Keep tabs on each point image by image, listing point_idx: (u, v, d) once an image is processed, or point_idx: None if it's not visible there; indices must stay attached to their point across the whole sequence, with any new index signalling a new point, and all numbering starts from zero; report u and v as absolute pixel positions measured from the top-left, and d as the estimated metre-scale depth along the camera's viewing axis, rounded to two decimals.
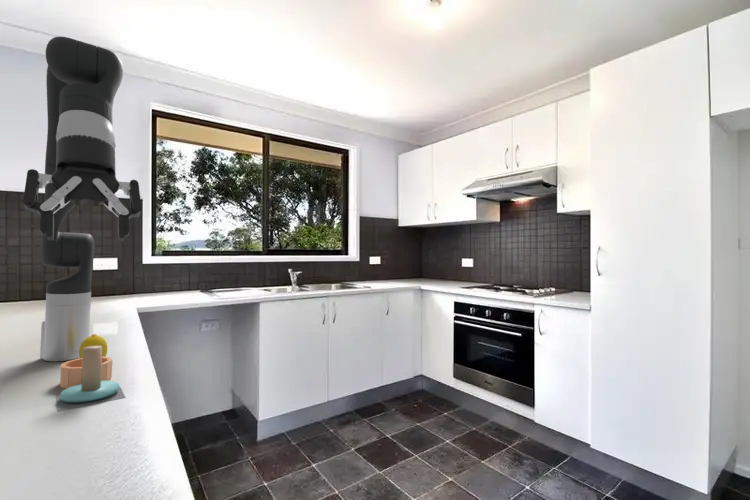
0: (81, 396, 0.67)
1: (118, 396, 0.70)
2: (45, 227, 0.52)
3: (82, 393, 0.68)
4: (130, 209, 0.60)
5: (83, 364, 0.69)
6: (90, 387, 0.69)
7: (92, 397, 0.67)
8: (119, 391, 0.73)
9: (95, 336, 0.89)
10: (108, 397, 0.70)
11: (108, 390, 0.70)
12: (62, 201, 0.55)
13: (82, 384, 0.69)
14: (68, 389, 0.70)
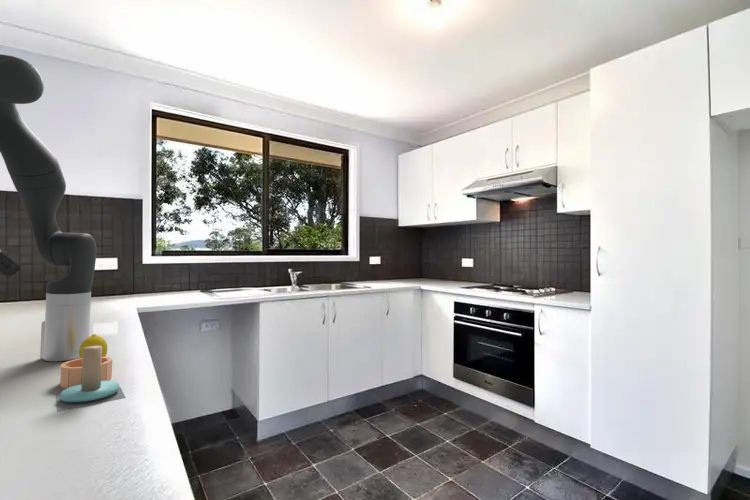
0: (81, 396, 0.67)
1: (118, 396, 0.70)
2: None
3: (82, 393, 0.68)
4: None
5: (83, 364, 0.69)
6: (90, 387, 0.69)
7: (92, 397, 0.67)
8: (119, 391, 0.73)
9: (95, 336, 0.89)
10: (108, 397, 0.70)
11: (108, 390, 0.70)
12: None
13: (82, 384, 0.69)
14: (68, 389, 0.70)
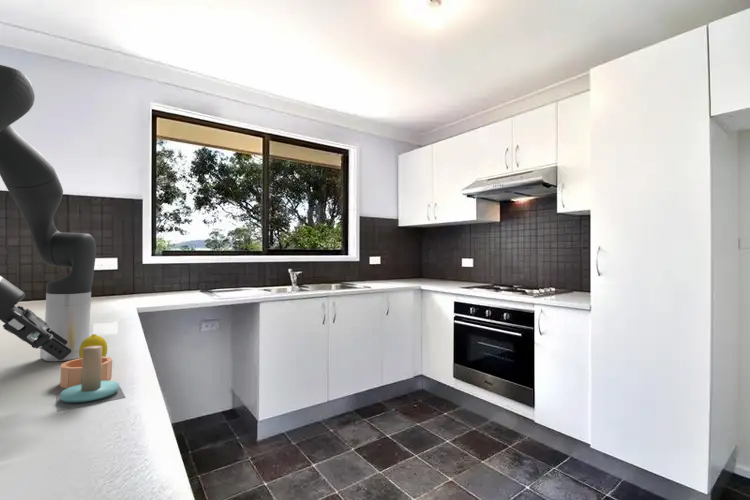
0: (81, 396, 0.67)
1: (118, 396, 0.70)
2: None
3: (82, 393, 0.68)
4: None
5: (83, 364, 0.69)
6: (90, 387, 0.69)
7: (92, 397, 0.67)
8: (119, 391, 0.73)
9: (95, 336, 0.89)
10: (108, 397, 0.70)
11: (108, 390, 0.70)
12: None
13: (82, 384, 0.69)
14: (68, 389, 0.70)
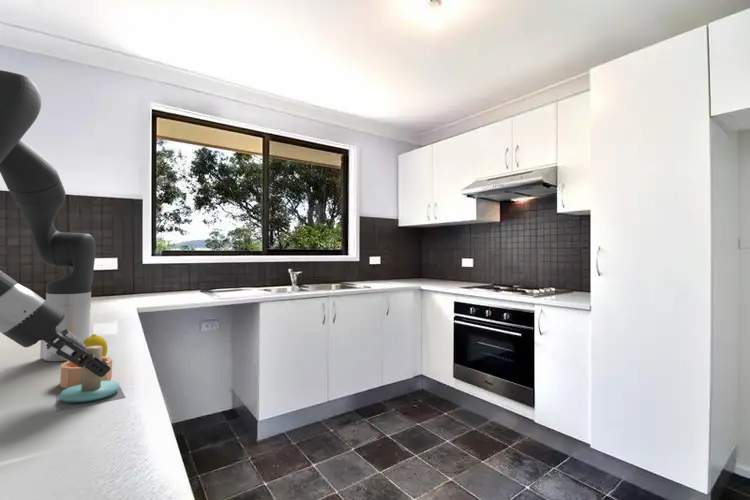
0: (81, 396, 0.67)
1: (118, 396, 0.70)
2: None
3: (82, 393, 0.68)
4: (79, 361, 0.67)
5: None
6: (90, 387, 0.69)
7: (92, 397, 0.67)
8: (119, 391, 0.73)
9: (95, 336, 0.89)
10: (108, 397, 0.70)
11: (108, 390, 0.70)
12: None
13: (82, 384, 0.69)
14: (68, 389, 0.70)
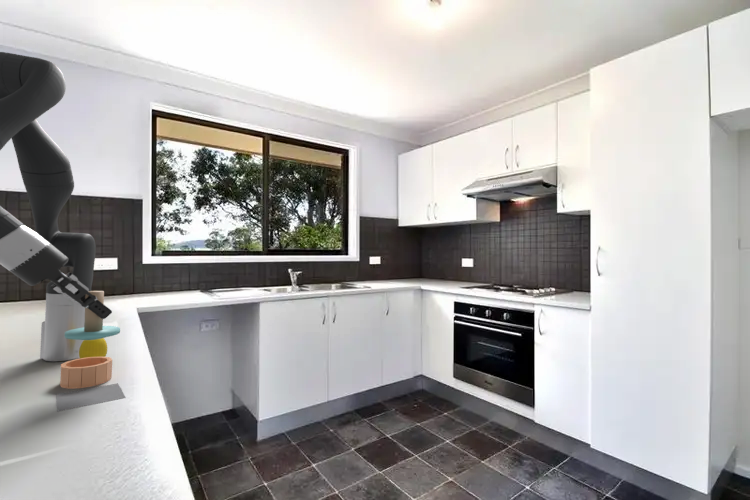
0: (84, 334, 0.70)
1: (118, 396, 0.70)
2: None
3: (85, 333, 0.72)
4: None
5: None
6: (93, 328, 0.73)
7: (95, 336, 0.71)
8: (119, 391, 0.73)
9: None
10: (108, 397, 0.70)
11: (110, 331, 0.74)
12: None
13: (85, 325, 0.73)
14: (72, 330, 0.74)
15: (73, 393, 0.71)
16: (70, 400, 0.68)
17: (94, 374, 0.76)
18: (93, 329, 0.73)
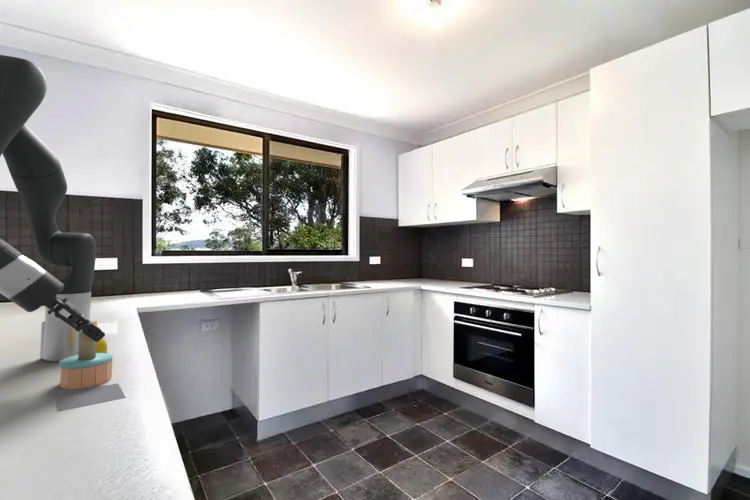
0: (78, 364, 0.74)
1: (118, 396, 0.70)
2: None
3: (79, 361, 0.76)
4: (77, 326, 0.74)
5: (80, 336, 0.77)
6: (86, 357, 0.77)
7: (87, 365, 0.75)
8: (119, 391, 0.73)
9: None
10: (108, 397, 0.70)
11: (102, 359, 0.78)
12: None
13: (79, 354, 0.77)
14: (66, 358, 0.77)
15: (73, 393, 0.71)
16: (70, 400, 0.68)
17: (94, 374, 0.76)
18: (86, 358, 0.77)
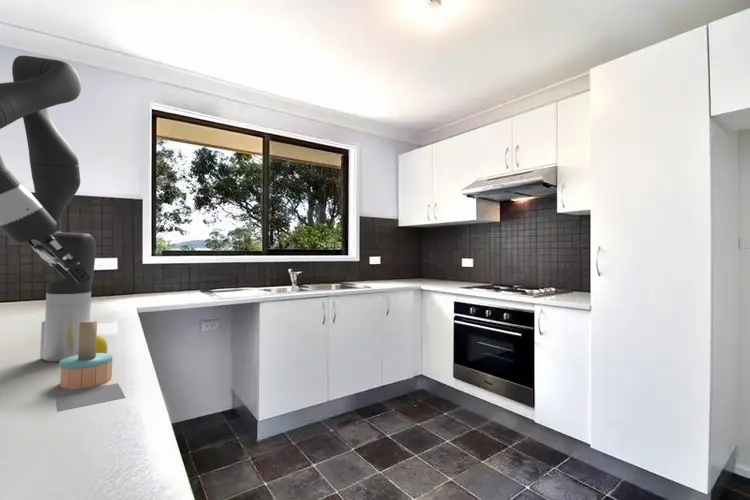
0: (78, 364, 0.74)
1: (118, 396, 0.70)
2: None
3: (79, 361, 0.76)
4: None
5: (80, 336, 0.77)
6: (86, 357, 0.77)
7: (87, 365, 0.75)
8: (119, 391, 0.73)
9: None
10: (108, 397, 0.70)
11: (102, 359, 0.78)
12: None
13: (79, 354, 0.77)
14: (66, 358, 0.77)
15: (73, 393, 0.71)
16: (70, 400, 0.68)
17: (94, 374, 0.76)
18: (86, 358, 0.77)
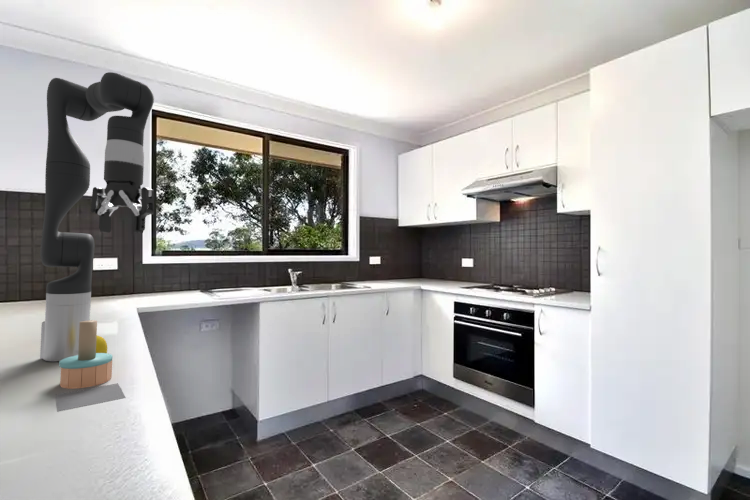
0: (78, 364, 0.74)
1: (118, 396, 0.70)
2: None
3: (79, 361, 0.76)
4: None
5: (80, 336, 0.77)
6: (86, 357, 0.77)
7: (87, 365, 0.75)
8: (119, 391, 0.73)
9: None
10: (108, 397, 0.70)
11: (102, 359, 0.78)
12: (109, 207, 0.84)
13: (79, 354, 0.77)
14: (66, 358, 0.77)
15: (73, 393, 0.71)
16: (70, 400, 0.68)
17: (94, 374, 0.76)
18: (86, 358, 0.77)
